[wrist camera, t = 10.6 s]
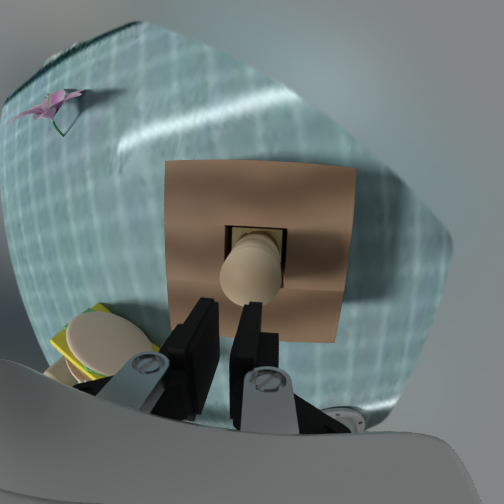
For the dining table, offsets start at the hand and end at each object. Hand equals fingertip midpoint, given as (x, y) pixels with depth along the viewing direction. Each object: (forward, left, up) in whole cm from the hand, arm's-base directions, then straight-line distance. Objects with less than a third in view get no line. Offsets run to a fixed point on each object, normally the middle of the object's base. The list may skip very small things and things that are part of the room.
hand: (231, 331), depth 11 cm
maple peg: (0, 0, -14) cm, 14 cm away
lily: (+19, +30, -21) cm, 41 cm away
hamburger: (-16, +20, -21) cm, 33 cm away
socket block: (0, 0, -21) cm, 21 cm away
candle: (-25, +33, -21) cm, 47 cm away
